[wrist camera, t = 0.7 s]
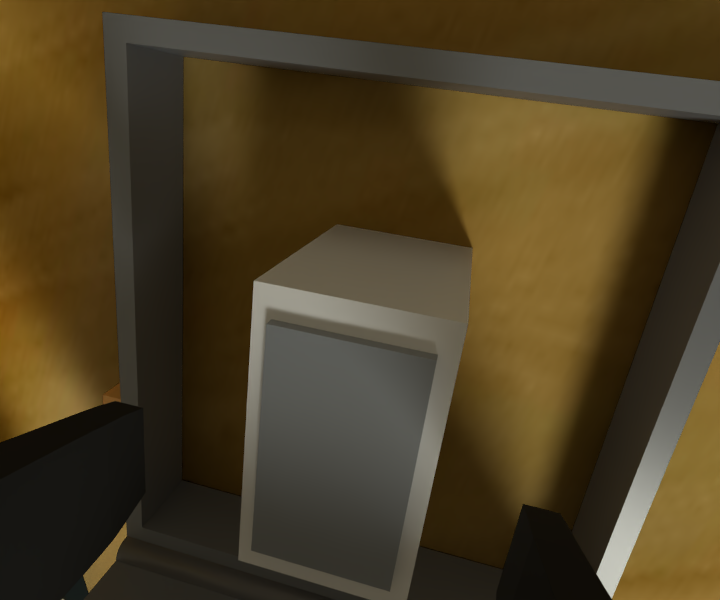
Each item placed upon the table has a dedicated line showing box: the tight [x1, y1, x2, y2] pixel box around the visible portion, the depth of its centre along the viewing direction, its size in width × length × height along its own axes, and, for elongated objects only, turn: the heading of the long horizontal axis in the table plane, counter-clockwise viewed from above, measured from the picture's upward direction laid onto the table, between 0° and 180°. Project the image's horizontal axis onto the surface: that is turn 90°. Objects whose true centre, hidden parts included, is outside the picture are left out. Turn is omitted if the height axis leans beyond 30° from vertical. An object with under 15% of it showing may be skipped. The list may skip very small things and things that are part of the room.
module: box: [238, 224, 473, 600], centre depth 13 cm, size 4×7×6 cm, turn 173°
